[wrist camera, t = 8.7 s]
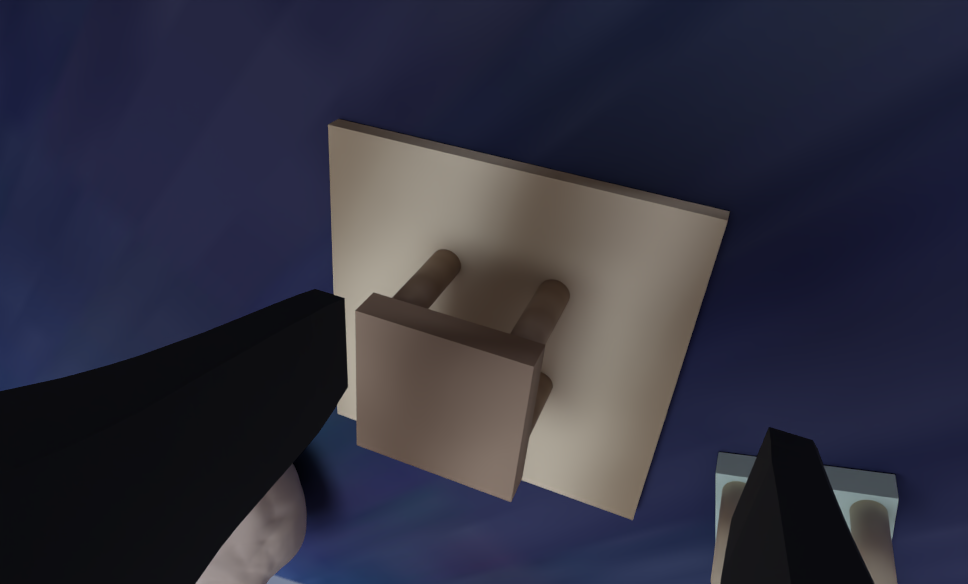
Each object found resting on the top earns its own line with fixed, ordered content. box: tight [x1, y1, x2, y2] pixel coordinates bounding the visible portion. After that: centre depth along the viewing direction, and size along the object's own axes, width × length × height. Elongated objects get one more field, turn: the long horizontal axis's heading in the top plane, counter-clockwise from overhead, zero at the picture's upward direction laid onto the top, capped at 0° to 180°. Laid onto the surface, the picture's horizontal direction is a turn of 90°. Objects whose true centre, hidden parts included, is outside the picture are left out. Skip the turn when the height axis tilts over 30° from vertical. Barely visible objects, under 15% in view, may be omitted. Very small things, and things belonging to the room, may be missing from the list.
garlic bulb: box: [196, 463, 307, 584], centre depth 29 cm, size 7×6×8 cm
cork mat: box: [328, 119, 730, 520], centre depth 23 cm, size 12×12×1 cm
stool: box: [355, 249, 570, 502], centre depth 21 cm, size 5×5×4 cm
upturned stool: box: [711, 452, 899, 584], centre depth 21 cm, size 5×5×4 cm
